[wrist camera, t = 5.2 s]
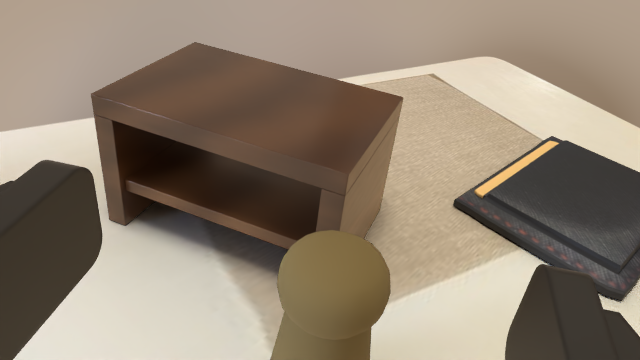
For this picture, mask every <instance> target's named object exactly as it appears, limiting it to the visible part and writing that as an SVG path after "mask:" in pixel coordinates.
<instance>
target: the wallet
mask: <svg viewBox="0 0 640 360" xmlns="http://www.w3.org/2000/svg"><path fill="white" fill-rule="evenodd" d="M453 205H454V206H456V207H457V208H459V209H461V210H463V211H464V212H466V213H468V214H469V215H471V216H472V217H474V218H475V219H477V220H478V221H480V222H481V223H483V224H484V225H486V226H488V227H489V228H491V229H493V230H495V231H496V232H498V233H500V234H501V235H503V236H505V237H506V238H508V239H510V240H511V241H513V242H515V243H516V244H518V245H520V246H521V247H523V248H525V249H526V250H528V251H530V252H531V253H533V254H535V255H536V256H538V257H540V258H542V259H543V260H545V261H547V262H548V263H550V264H552V265H553V266H555V267H558V268H563V269H568V270H572V271H577V272H582V273H587V274H589V275H590V276H591V277H592V278H593V281H594V283H595V286H596V289H597V291H598V292H600V293H601V294H603V295H605V296H608V297H611V298H614V299H618V300H621V301H622V300H623V299H624V297H625V296H626V295H627V294H628V293H629V292H630V291H631V289H632V288H633V287H634V285H635V284H636V283H637V281H638V280H639V278H640V172H637V171H635V170H633V169H631V168H628V167H626V166H624V165H621V164H619V163H617V162H615V161H612V160H610V159H608V158H605V157H603V156H601V155H599V154H596V153H594V152H592V151H590V150H587V149H585V148H583V147H580V146H578V145H576V144H574V143H571V142H569V141H562V140H560V139H558V138H555V137H553V136H551V137H549V138H548V139H546V140H544V141H542V142H541V143H539V144H538V145H537V146H536V147H534V148H533V149H531V150H530V151H528V152H527V153H525V154H524V155H522V156H521V157H519V158H518V159H516V160H515V161H513V162H512V163H510V164H508V165H507V166H505V167H504V168H502V169H501V170H499V171H498V172H496V173H495V174H493V175H492V176H490V177H489V178H487V179H486V180H484V181H483V182H481V183H480V184H478V185H476V186H475V187H473V188H472V189H470V190H469V191H467V192H466V193H464V194H463V195H461V196H460V197H458V198H457V199H455V200H454V204H453Z"/></svg>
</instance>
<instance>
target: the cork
mask: <svg viewBox="0 0 640 360" xmlns="http://www.w3.org/2000/svg"><path fill="white" fill-rule="evenodd" d="M277 288H278V292H279V296H280V301H281V304H282V308H283V309H284V311H285V312H284V315H283V318H282V322H281V325H280V329H279V332H278V336H277V339H276V342H275V346H274V349H273V353H272V356H271V360H370V344H371V326H373V325H374V324H375V323H376V322H377V321H378V319H379V318H380V317H381V315H382V314H383V312H384V309H385V307H386V305H387V302H388V299H389V296H390V273H389V269H388V267H387V265H386V263H385V260H384V258H383V257H382V255H381V253H380V252H379V251H378V250H377V249H376V248H375V247H374V246H373V245H372V244H371V243H370V242H368V241H366V240H365V239H363V238H362V237H360V236H357V235H354V234H351V233H348V232H343V231H335V230H328V231H318V232H315V233H311V234H308V235H306V236H304V237H303V238H301V239H300V240H298V241H297V242H296V243H294V244H293V245H292V246H291V247H290V249H289V250H288V251H287V253H286V254H285V255H284V257H283V259H282V262H281V264H280V268H279V273H278V280H277Z"/></svg>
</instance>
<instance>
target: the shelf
mask: <svg viewBox="0 0 640 360" xmlns="http://www.w3.org/2000/svg"><path fill="white" fill-rule="evenodd" d="M91 98H92V105H93V112H94V118H95V125H96V132H97V139H98V145H99V152H100V159H101V166H102V172H103V179H104V186H105V193H106V199H107V206H108V213H109V219H110V220H112V221H114V222H117V223H120V224H122V225H125V226H126V225H127V224H128V223H129V222H130V221H132V220H133V219H134V218H135V217H137V216H138V215H139V214H140V213H141V212H143V211H144V210H145V209H146V208H147V207H149V206H150V205H151V204H152V203H153V202H155V201H157V202H160V203H163V204H165V205H168V206H171V207H173V208H176V209H179V210H182V211H184V212H187V213H190V214H193V215H195V216H198V217H201V218H204V219H206V220H209V221H212V222H215V223H217V224H220V225H223V226H226V227H228V228H231V229H234V230H237V231H239V232H242V233H245V234H247V235H250V236H253V237H256V238H258V239H261V240H264V241H267V242H269V243H272V244H275V245H278V246H280V247H283V248H286V249H290V247H291V246H292V245H293V244H294V243H296V242H297V241H298V240H300V239H301V238H303V237H304V236H306V235H308V234H311V233H315V232H318V231H328V230H335V231H343V232H348V233H351V234H354V235H357V236H360V237H362V238H363V239H364V237H365V235H366V234H367V232H368V230H369V228H370V226H371V225H372V223H373V221H374V219H375V217H376V215H377V214H378V212H379V210H380V206H381V201H382V197H383V192H384V187H385V183H386V178H387V173H388V168H389V164H390V159H391V154H392V149H393V145H394V140H395V135H396V131H397V126H398V121H399V115H400V112H401V107H402V102H403V97H400V96H396V95H392V94H389V93H385V92H381V91H377V90H374V89H370V88H366V87H362V86H359V85H355V84H351V83H347V82H343V81H340V80H336V79H332V78H328V77H324V76H321V75H317V74H313V73H309V72H306V71H301V70H298V69H294V68H290V67H287V66H283V65H279V64H276V63H272V62H268V61H264V60H260V59H257V58H253V57H249V56H245V55H242V54H238V53H234V52H230V51H226V50H223V49H219V48H215V47H211V46H207V45H204V44H200V43H196V42H194V43H192V44H191V45H188V46H186V47H184V48H182V49H180V50H178V51H176V52H174V53H172V54H170V55H168V56H166V57H164V58H162V59H160V60H158V61H156V62H154V63H152V64H150V65H148V66H146V67H144V68H142V69H140V70H138V71H136V72H134V73H132V74H130V75H128V76H126V77H124V78H122V79H120V80H118V81H116V82H114V83H112V84H110V85H108V86H106V87H104V88H102V89H100V90H98V91H96V92H94V93H92V94H91Z"/></svg>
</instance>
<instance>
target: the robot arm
mask: <svg viewBox="0 0 640 360" xmlns="http://www.w3.org/2000/svg"><path fill="white" fill-rule="evenodd" d="M101 245H102V229H101V222H100V216H99V210H98V204H97V197H96V191H95V185H94V179H93V176H92V173H91V172H90V171H89V170H88V169H87V168H84V167H79V166H74V165H70V164H65V163H60V162H55V161H50V160H43V161H41V162H39V163H37V164H36V165H35V166H34V167H32V168H31V169H30V170H28V171H27V172H26V173H24V174H23V175H22V176H21V177H19V178H18V179H17V180H15V181H9V182H7V183H5V184H2V185H0V360H13V359H14V358H15V356H16V355H17V354H18V353H19V352H20V351H21V349H22V348H23V347H24V346H25V345H26V344H27V342H28V341H29V340H30V339H31V338H32V336H33V335H34V334H35V333H36V332H37V331H38V329H39V328H40V327H41V326H42V325H43V324H44V322H45V321H46V320H47V319H48V318H49V316H50V315H51V314H52V313H53V312H54V311H55V309H56V308H57V307H58V306H59V305H60V304H61V302H62V301H63V300H64V299H65V298H66V296H67V295H68V294H69V293H70V292H71V291H72V289H73V288H74V287H75V286H76V285H77V284H78V282H79V281H80V280H81V279H82V278H83V276H84V275H85V274H86V273H87V272H88V271H89V269H90V268H91V267H92V266H93V264H94V263H95V261H96V259H97V257H98V255H99V252H100V249H101ZM505 360H640V337H639V336H638V334H637V333H636V332H635V331H634V330H633V328H632V327H631V326H630V325H629V324H628V322H627V321H626V320H625V319H624V318H623V316H622V315H621V314H620V313H619V312H614V311H609V310H605V309H603V308H602V304H601V301H600V298H599V295H598V292H597V289H596V286H595V283H594V281H593V278H592V277H591V276H590V275H589V274H587V273H582V272H577V271H572V270H568V269H563V268H558V267H553V266H548V265H544V264H541V265H539V266H538V267H537V268H536V270H535V271H534V273H533V276H532V278H531V280H530V283H529V285H528V287H527V289H526V292H525V294H524V296H523V299H522V301H521V303H520V305H519V308H518V310H517V312H516V315H515V317H514V319H513V321H512V324H511V326H510V329H509V333H508V337H507V342H506V351H505Z"/></svg>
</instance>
